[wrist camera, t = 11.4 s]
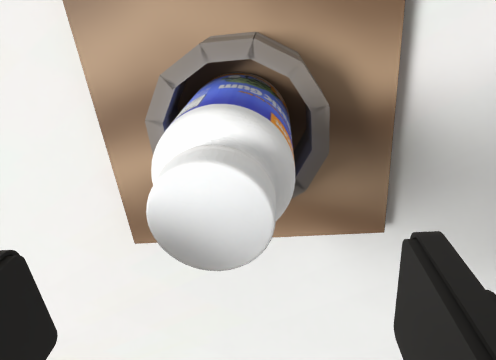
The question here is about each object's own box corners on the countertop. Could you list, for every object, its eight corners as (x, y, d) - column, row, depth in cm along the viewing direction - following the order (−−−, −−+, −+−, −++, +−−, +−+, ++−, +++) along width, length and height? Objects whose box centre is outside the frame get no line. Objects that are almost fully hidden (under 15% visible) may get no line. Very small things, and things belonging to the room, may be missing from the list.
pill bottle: (310, 112, 19) (342, 209, 10) (249, 183, 21) (234, 313, 12) (226, 46, 18) (183, 95, 9) (170, 129, 20) (92, 232, 11)
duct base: (378, 221, 23) (399, 264, 19) (140, 232, 25) (117, 275, 21) (403, -78, 16) (443, -101, 12) (64, -36, 18) (8, -44, 14)
